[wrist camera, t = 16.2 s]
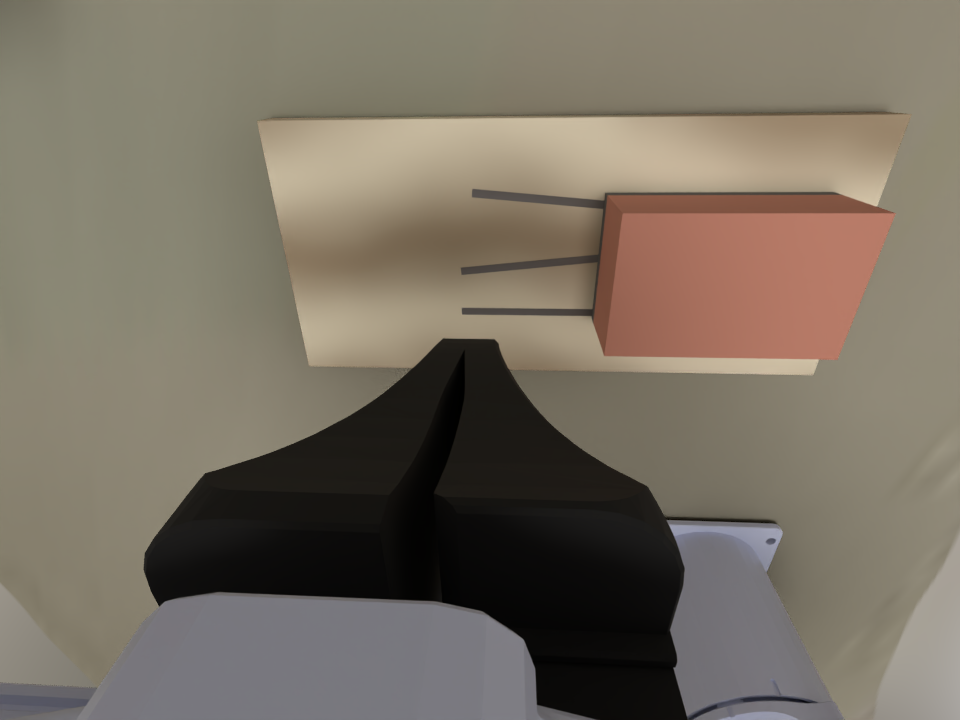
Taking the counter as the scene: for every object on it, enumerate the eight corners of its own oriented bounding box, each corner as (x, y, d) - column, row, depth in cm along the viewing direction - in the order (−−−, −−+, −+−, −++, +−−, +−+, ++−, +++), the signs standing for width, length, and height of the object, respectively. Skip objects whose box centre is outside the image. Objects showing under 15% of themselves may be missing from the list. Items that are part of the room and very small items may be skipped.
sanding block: (791, 320, 20) (837, 359, 17) (591, 318, 20) (604, 356, 18) (834, 191, 17) (895, 213, 15) (605, 192, 18) (622, 213, 15)
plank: (799, 361, 22) (813, 375, 21) (318, 353, 23) (309, 366, 22) (887, 112, 17) (912, 114, 16) (271, 118, 18) (256, 120, 17)
